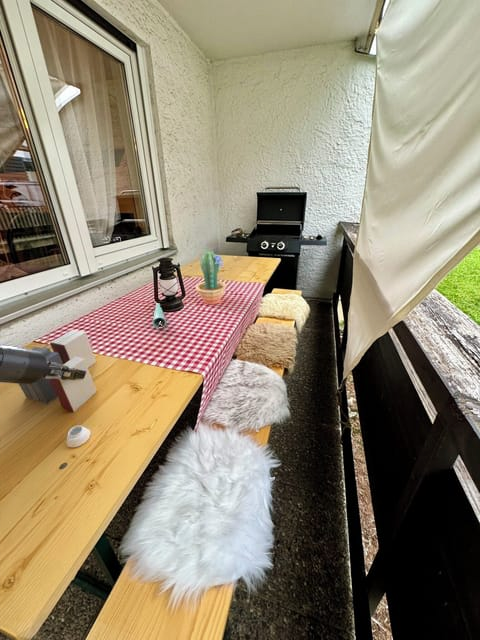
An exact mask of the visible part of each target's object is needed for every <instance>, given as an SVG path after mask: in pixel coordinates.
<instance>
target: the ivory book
mask: <svg viewBox="0 0 480 640" xmlns="http://www.w3.org/2000/svg"><path fill="white" fill-rule="evenodd" d="M64 365H66V366H68V367H69V368H72V369H73V368H75V369H78V370H83V371H86V375H85V377H84V379H76V380H62V379H54V378H52V379H49V380H50V382H51V384H52V387H53V389H54V391H55V393H56V395H57V397H56V398H57V400H58V401H59V403H60V405H61V407H62V409H63V411H66V412H70V413H73V414H74V413H75V412H76V411H77V410H79V408H80V407H82V406H83V405H84V404H85V403H86V402H87V401H89V399H91V398H92V397H93V396H94V395H95V394H96V393H97V392H98V391H97V388H96V385H95V382H94V380H93V377H92V374H91V372H90V369H89V368H88V367H87V364H86V361H85V359H84V358H79V357H74V358H72V359H71V360H69V361H68V362H66V363H65V364H64ZM61 368H62V367H61Z"/></svg>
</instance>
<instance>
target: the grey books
mask: <svg viewBox="0 0 480 640" xmlns="http://www.w3.org/2000/svg"><path fill="white" fill-rule="evenodd" d="M30 350H35V351H39V352H42V353H43V354H44V355H45V357H46V360H47V361H50V362H55V363H57V364H61V365H63V362H62V360H61V358H60V355H59V353H56V352H54V351H51V348H50V347H45V346H42V347H39V346H35V347H33V348H31V349H30ZM18 385H19V387H20V390H21V391H22V393H23V394H24V396H25V399H29V400H33V401H36V402H39V403H43V404H46V405H49V404H50V403H51V402H53V401H54V400H55V399H56V398H58V397H57V395H56V393H55V391H54V389H53V387H52V384H51V382H50V380H49V379H46V378H42V377H41V378H40V379H39V380H38V381H36V382H34V383H32V384H18Z"/></svg>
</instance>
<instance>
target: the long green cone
mask: <svg viewBox="0 0 480 640" xmlns="http://www.w3.org/2000/svg"><path fill="white" fill-rule="evenodd" d="M160 306H161V304H160V302H159V303H157V302H156V303H155V307H154V312H153V317H152V326H153V327H154V328H155V329H156V330H157V329H158V328H159V326H158V325H159V322H160V321H161V324H162V328H163V327H164V328H165V327H166V326H167V320H166V316H165V314H164V311H163V309H162V306H161V307H160ZM158 330H159V329H158Z"/></svg>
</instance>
